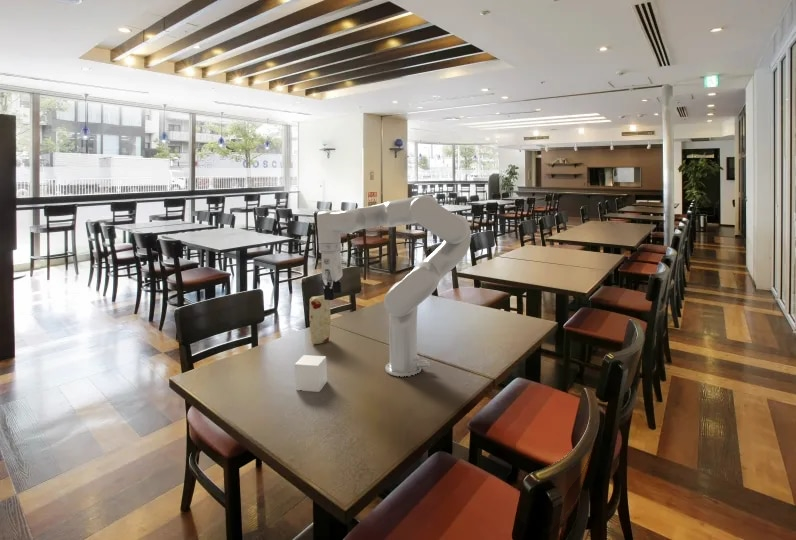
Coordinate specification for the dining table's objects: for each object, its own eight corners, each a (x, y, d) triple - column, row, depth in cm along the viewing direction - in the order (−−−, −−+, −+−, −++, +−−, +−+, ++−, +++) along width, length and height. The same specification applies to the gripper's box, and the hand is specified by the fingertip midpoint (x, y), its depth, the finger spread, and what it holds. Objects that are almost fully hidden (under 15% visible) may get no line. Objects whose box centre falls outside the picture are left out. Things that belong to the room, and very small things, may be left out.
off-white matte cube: (327, 381, 152) (326, 356, 150) (319, 391, 144) (318, 365, 143) (305, 379, 153) (303, 355, 151) (296, 390, 146) (294, 364, 144)
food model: (317, 347, 182) (315, 298, 178) (306, 343, 187) (304, 296, 183) (335, 340, 190) (333, 294, 186) (324, 337, 194) (322, 291, 190)
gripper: (334, 251, 147) (337, 302, 151) (346, 243, 164) (349, 290, 167) (311, 251, 148) (315, 302, 152) (326, 244, 165) (329, 290, 168)
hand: (333, 296), depth 160 cm, fingers open, 9 cm apart
